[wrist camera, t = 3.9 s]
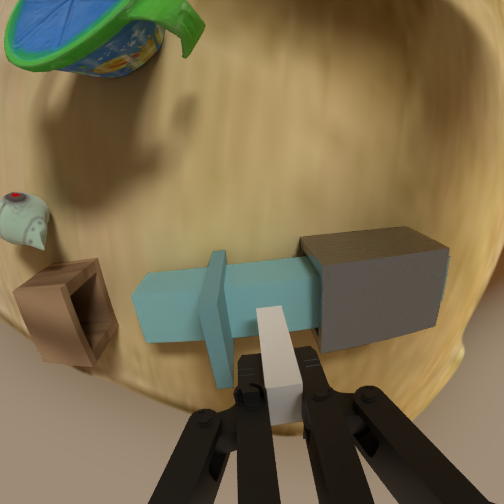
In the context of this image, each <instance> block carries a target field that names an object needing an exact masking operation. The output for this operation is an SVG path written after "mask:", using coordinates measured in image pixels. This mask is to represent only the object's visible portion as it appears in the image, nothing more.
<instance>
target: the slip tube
mask: <svg viewBox="0 0 504 504" xmlns="http://www.w3.org/2000/svg"><path fill="white" fill-rule="evenodd" d="M449 258H450V256H448V263H447V270H446V276H445V282H444V288H443V293H442V298H441V301H442V299H443V294H444V289H445V284H446V278H447V272H448V265H449ZM131 297H132V301H133V304H134V307H135V310H136V314H137V317H138V320H139V323H140V326H141V329H142V332H143V335H144V338H145V340H146V343H159V342H184V341H201V340H205V342H206V346H207V350H208V354H209V358H210V362H211V366H212V370H213V374H214V378H215V382H216V385H217V389H223V388H234V338H239V337H249V336H258V335H259V329H258V321H257V312H256V308H264V307H272V306H280V305H281V306H282V309H283V313H284V317H285V320H286V324H287V327H288V331H289V332H291V331H298V330H305V329H311V328H318V327H319V273H318V271H317V270H316V268H315V267H314V265H313V264H312V262H311V261H310V259H309V258H308V256H303V257H295V258H286V259H277V260H268V261H259V262H250V263H241V264H232V265H227V259H226V252H225V250H220V251H213V252H212V255H211V259H210V262H209V265H208V267H204V268H194V269H185V270H175V271H165V272H155V273H147V275H146V276H145V277H144V279H143V280H142V281H141V283H140V284H139V285H138V287H137V288H136V289H135V291H134V292H133V293H132V295H131Z"/></svg>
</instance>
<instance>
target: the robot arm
mask: <svg viewBox="0 0 504 504" xmlns="http://www.w3.org/2000/svg"><path fill="white" fill-rule="evenodd" d="M256 312H257V321H258V329H259V338H260V347H261V353H258V354H249V355H242V356H241V358H240V359H239V361H238V386H237V387H236V388H235V390H234V398H235V402H236V403H235V405H234V406H233V407H231V408H230V409H227V410H225V411H222V412H218V413H217V412H216V411H214V410H211V409H201V410H198V411H196V412H194V413H193V414H192V415H191V416H190V418H189V420H188V422H187V424H186V426H185V428H184V430H183V432H182V434H181V437H180V439H179V441H178V443H177V445H176V447H175V449H174V451H173V453H172V455H171V457H170V460H169V462H168V464H167V466H166V468H165V470H164V472H163V474H162V476H161V478H160V480H159V482H158V484H157V486H156V488H155V490H154V492H153V494H152V496H151V498H150V501H149V502H148V504H213V503H214V501H215V498H216V495H217V492H218V489H219V486H220V483H221V480H222V477H223V474H224V471H225V467H226V465H227V462H228V458H229V455H230V452H232V451H235V450H237V480H238V482H237V483H238V504H281V501H280V494H279V486H278V479H277V470H276V462H275V454H274V446H273V438H272V430H271V426H273V425H281V424H288V423H295V422H301V421H302V419H303V423H304V432H303V439H306V444H307V449H308V453H309V457H310V462H311V467H312V472H313V476H314V481H315V485H316V491H317V496H318V500H319V504H374V501H373V498H372V494H371V491H370V488H369V485H368V482H367V479H366V477H365V474H364V471H363V468H362V465H361V462H360V459H359V456H358V454H357V451H356V448H355V446H356V447H357V448H358V450H359V451H360V453H361V454H362V456H363V457H364V458H365V459H366V461H367V462H368V464H369V465H370V466H371V468H372V469H373V470H374V472H375V473H376V474H377V475H378V477H379V478H380V480H381V481H382V482H383V483H384V484H385V486H386V487H387V489H388V490H389V491H390V493H391V494H392V495H393V497H394V498H395V499H396V500H397V502H398V503H399V504H495V503H492V502H489V501H488V500H487V499H486V498H485V497H484V496H483V495H482V494H481V493H480V492H479V491H478V490H477V489H476V488H475V486H474V485H473V484H472V483H471V482H470V481H469V480H468V479H467V478H466V477H465V476H464V475H463V474H462V473H461V472H460V471H459V470H458V469H457V468H456V467H455V466H454V465H453V464H452V463H451V462H450V461H449V460H448V459H447V458H446V457H445V456H444V455H443V454H442V453H441V452H440V450H439V449H438V448H437V447H436V446H435V445H434V444H433V443H432V442H431V441H430V440H429V439H428V438H427V437H426V436H425V435H424V434H423V433H422V432H421V431H420V430H419V429H418V428H417V427H416V426H415V425H414V424H413V423H412V422H411V420H410V419H409V418H408V417H407V416H406V415H405V414H404V413H403V412H402V411H401V410H400V409H399V408H398V407H397V406H396V405H395V404H394V403H393V402H392V401H391V400H390V399H389V398H388V397H387V396H386V395H385V394H384V392H383V391H382V390H380V389H379V388H378V387H375V386H363V387H360V388H359V389H357V390H356V392H355V393H340V392H337V391H335V390H333V388H331V387H330V386H329V384H328V382H327V379H326V376H325V374H324V371H323V368H322V366H321V363H320V360H319V358H318V355H317V352H316V351H315V350H314V349H313V348H312V347H311V346H306V347H300V348H293V345H292V342H291V338H290V335H289V331H288V327H287V324H286V320H285V317H284V313H283V309H282V306H281V305H280V306H272V307H264V308H256Z"/></svg>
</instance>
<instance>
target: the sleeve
mask: <svg viewBox="0 0 504 504" xmlns="http://www.w3.org/2000/svg"><path fill="white" fill-rule="evenodd" d="M300 243H301V257H303V256H308V258H309V259H310V261H311V262H312V264H313V265H314V267H315V268H316V270H317V271H318V273H319V327H318V328H311V330H312V333H313V335H314V338H315V340H316V343H317V345H318V348H319V350H320V353H326V352H332V351H337V350H342V349H347V348H352V347H357V346H361V345H366V344H370V343H375V342H379V341H383V340H387V339H391V338H395V337H399V336H402V335H406V334H410V333H413V332H417V331H420V330H424V329H427V328H430V327H433V326H435V325H436V320H437V316H438V312H439V308H440V303H441V298H442V293H443V288H444V282H445V276H446V270H447V263H448V256H449V247H447V246H445V245H443V244H441V243H439V242H437V241H435V240H433V239H431V238H429V237H427V236H425V235H423V234H421V233H419V232H417V231H414V230H412V229H410V228H408V227H406V226H405V227H395V228H384V229H374V230H364V231H354V232H344V233H334V234H324V235H315V236H305V237H300Z"/></svg>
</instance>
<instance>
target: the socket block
mask: <svg viewBox="0 0 504 504" xmlns="http://www.w3.org/2000/svg"><path fill="white" fill-rule="evenodd" d="M13 294H14V297H15V300H16V302H17V305H18V307H19V310H20V312H21V315H22V317H23V320H24V322H25V324H26V326H27V329H28V331H29V333H30V335H31V337H32V339H33V341H34V344H35V346H36V348H37V350H38V351H39V353H40V355H41V357H42V359H43V361H44V362H49V363H57V364H65V365H74V366H84V367H94V365H95V363H96V362H97V360H98V358H99V357H100V355H101V353H102V352H103V350H104V348H105V347H106V345H107V344H108V342H109V340H110V339H111V337H112V336H113V334H114V333H115V331H116V329H117V328H118V326H119V325H118V322H117V320H116V317H115V314H114V311H113V308H112V305H111V302H110V299H109V296H108V292H107V289H106V286H105V283H104V279H103V276H102V272H101V268H100V265H99V261H98V258H94V259H87V260H79V261H72V262H64V263H57V264H51V265H49V266H48V267H46V268H45V269H44V270H42V271H41V272H39V273H38V274H36V275H35V276H33V277H32V278H31V279H29V280H28V281H26V282H25V283H24V284H22V285H21V286H20V287H18V288H17V289H15V290H14V291H13Z"/></svg>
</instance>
